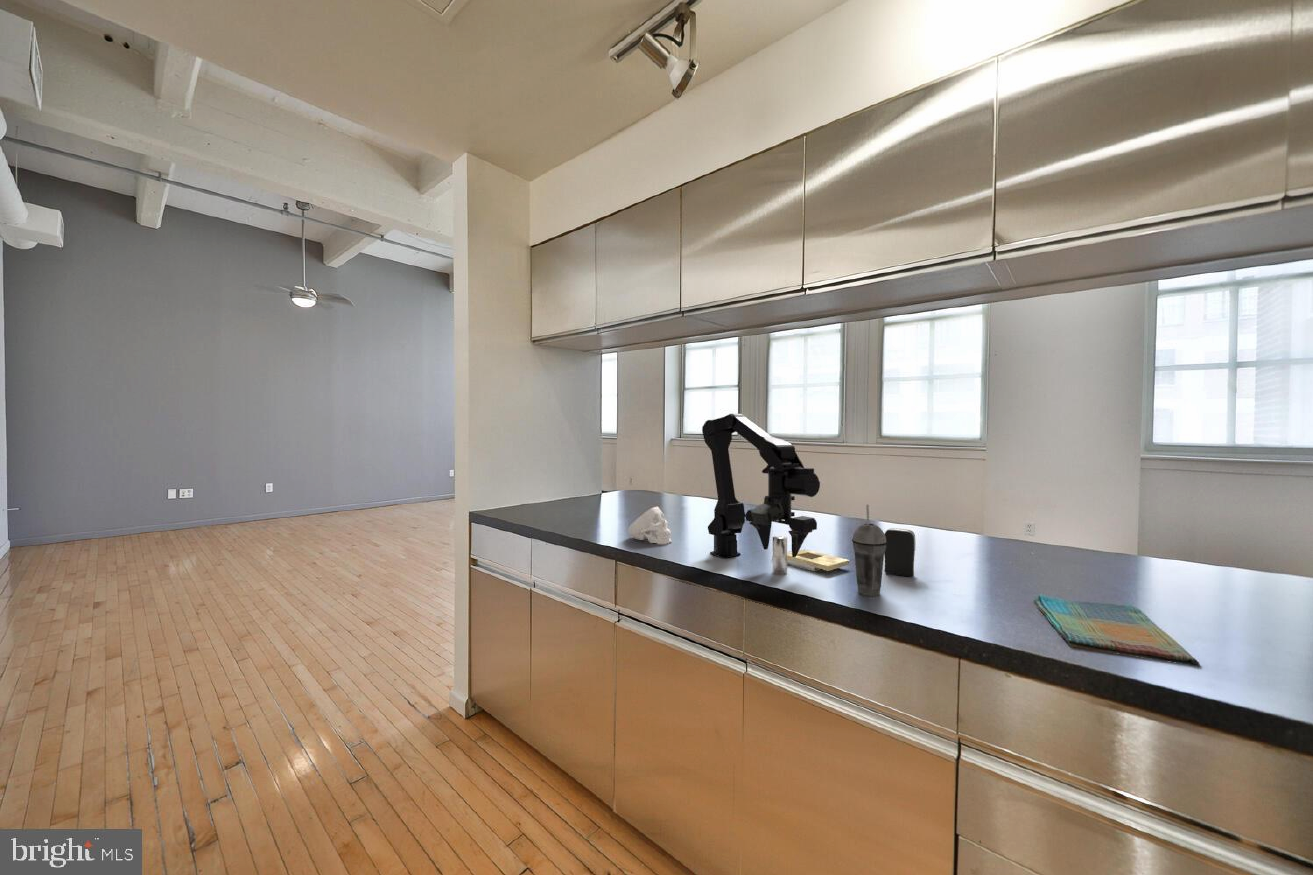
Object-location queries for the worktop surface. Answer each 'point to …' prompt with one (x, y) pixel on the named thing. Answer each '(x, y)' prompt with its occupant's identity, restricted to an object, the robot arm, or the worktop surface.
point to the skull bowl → (651, 527)
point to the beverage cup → (869, 557)
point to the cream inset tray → (815, 561)
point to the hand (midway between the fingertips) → (779, 552)
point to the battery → (900, 552)
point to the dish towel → (1111, 629)
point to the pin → (780, 555)
